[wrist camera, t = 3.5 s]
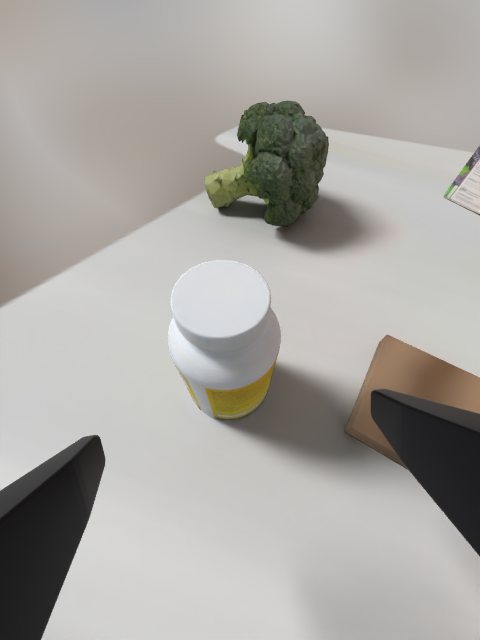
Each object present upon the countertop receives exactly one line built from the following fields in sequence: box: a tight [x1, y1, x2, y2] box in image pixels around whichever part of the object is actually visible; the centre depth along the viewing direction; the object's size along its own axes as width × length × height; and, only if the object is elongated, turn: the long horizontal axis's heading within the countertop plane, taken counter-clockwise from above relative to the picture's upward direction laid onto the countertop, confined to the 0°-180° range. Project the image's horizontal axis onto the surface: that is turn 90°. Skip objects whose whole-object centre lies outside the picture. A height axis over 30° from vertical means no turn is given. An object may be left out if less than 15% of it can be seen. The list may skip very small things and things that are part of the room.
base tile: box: [345, 335, 480, 469], centre depth 20 cm, size 9×9×2 cm
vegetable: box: [205, 101, 329, 226], centre depth 31 cm, size 12×13×15 cm
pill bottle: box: [168, 260, 281, 421], centre depth 17 cm, size 6×6×12 cm
